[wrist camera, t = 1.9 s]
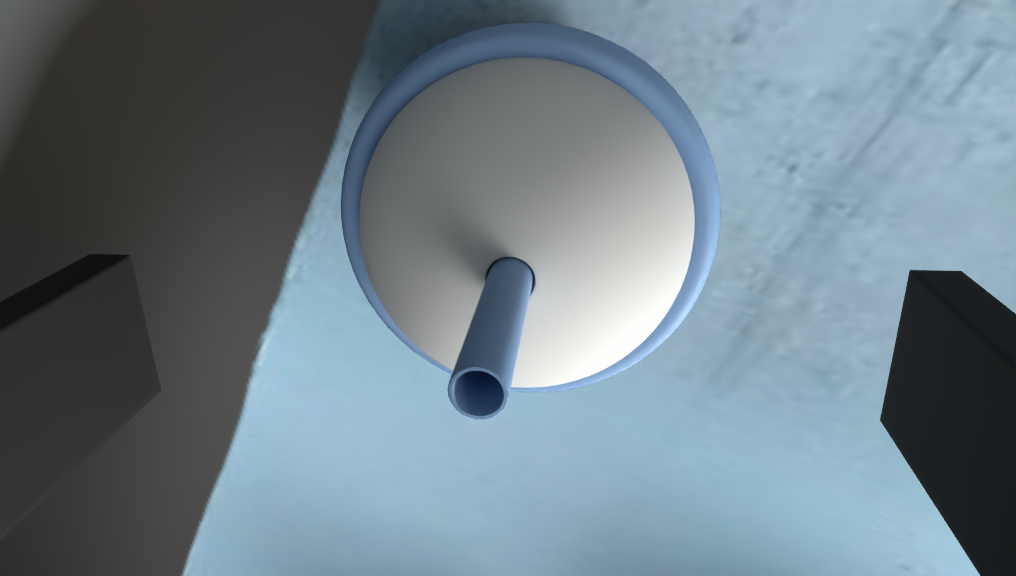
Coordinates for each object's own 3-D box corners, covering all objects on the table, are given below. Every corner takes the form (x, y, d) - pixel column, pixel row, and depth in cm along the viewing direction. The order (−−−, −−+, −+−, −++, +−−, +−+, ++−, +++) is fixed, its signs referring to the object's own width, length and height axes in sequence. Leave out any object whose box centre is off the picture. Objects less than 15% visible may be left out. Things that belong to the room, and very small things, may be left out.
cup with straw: (456, 269, 29) (277, 643, 13) (402, 32, 26) (71, 130, 10) (688, 237, 28) (821, 616, 11) (663, -19, 25) (797, -6, 8)
